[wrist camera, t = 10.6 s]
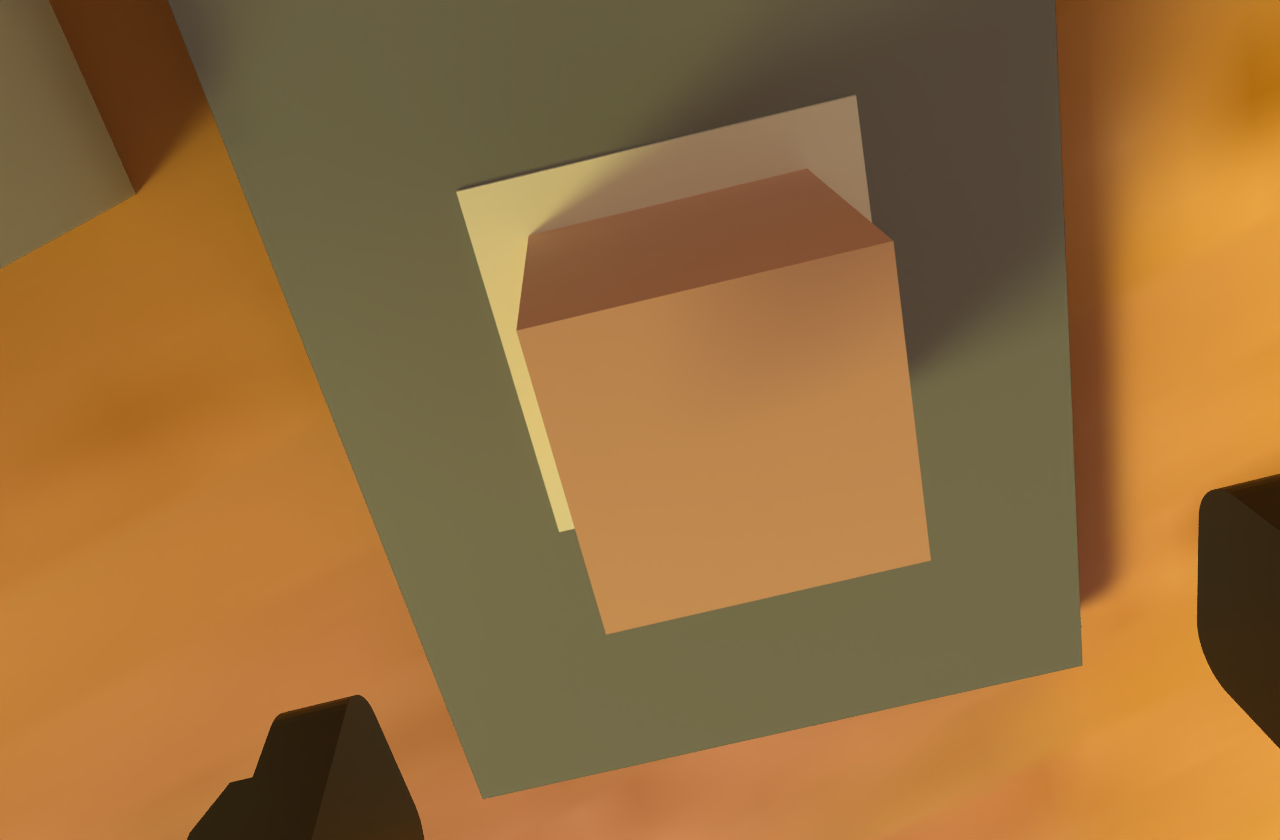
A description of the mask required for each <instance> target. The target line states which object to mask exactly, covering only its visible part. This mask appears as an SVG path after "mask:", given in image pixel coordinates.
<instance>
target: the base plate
mask: <svg viewBox="0 0 1280 840" xmlns="http://www.w3.org/2000/svg"><path fill="white" fill-rule="evenodd" d="M168 2H169V5H170V7H171V10H172V12H173V15H174V18H175V20H176V23H177V25H178V28H179V30H180V33H181V35H182V38H183V40H184V43H185V45H186V48H187V51H188V53H189V56H190V58H191V61H192V63H193V66H194V68H195V71H196V73H197V76H198V78H199V81H200V83H201V86H202V89H203V91H204V94H205V96H206V99H207V101H208V104H209V106H210V109H211V111H212V114H213V116H214V119H215V121H216V124H217V127H218V129H219V132H220V134H221V137H222V139H223V142H224V144H225V147H226V149H227V152H228V154H229V157H230V159H231V162H232V165H233V167H234V170H235V172H236V175H237V177H238V180H239V182H240V185H241V187H242V190H243V192H244V195H245V198H246V200H247V203H248V205H249V208H250V210H251V213H252V215H253V218H254V220H255V223H256V225H257V228H258V230H259V233H260V236H261V238H262V241H263V243H264V246H265V248H266V251H267V253H268V256H269V258H270V261H271V263H272V266H273V268H274V271H275V274H276V276H277V279H278V281H279V284H280V286H281V289H282V291H283V294H284V296H285V299H286V301H287V304H288V307H289V309H290V312H291V314H292V317H293V319H294V322H295V324H296V327H297V329H298V332H299V334H300V337H301V339H302V342H303V345H304V347H305V350H306V352H307V355H308V357H309V360H310V362H311V365H312V367H313V370H314V372H315V375H316V377H317V380H318V383H319V385H320V388H321V390H322V393H323V395H324V398H325V400H326V403H327V405H328V408H329V410H330V413H331V415H332V418H333V421H334V423H335V426H336V428H337V431H338V433H339V436H340V438H341V441H342V443H343V446H344V448H345V451H346V454H347V456H348V459H349V461H350V464H351V466H352V469H353V471H354V474H355V476H356V479H357V481H358V484H359V486H360V489H361V492H362V494H363V497H364V499H365V502H366V504H367V507H368V509H369V512H370V514H371V517H372V519H373V522H374V524H375V527H376V530H377V532H378V535H379V537H380V540H381V542H382V545H383V547H384V550H385V552H386V555H387V557H388V560H389V562H390V565H391V568H392V570H393V573H394V575H395V578H396V580H397V583H398V585H399V588H400V590H401V593H402V595H403V598H404V601H405V603H406V606H407V608H408V611H409V613H410V616H411V618H412V621H413V623H414V626H415V628H416V631H417V633H418V636H419V639H420V641H421V644H422V646H423V649H424V651H425V654H426V656H427V659H428V661H429V664H430V666H431V669H432V671H433V674H434V677H435V679H436V682H437V684H438V687H439V689H440V692H441V694H442V697H443V699H444V702H445V704H446V707H447V709H448V712H449V715H450V717H451V720H452V722H453V725H454V727H455V730H456V732H457V735H458V737H459V740H460V742H461V745H462V748H463V750H464V753H465V755H466V758H467V760H468V763H469V765H470V768H471V770H472V773H473V775H474V778H475V780H476V783H477V786H478V788H479V791H480V793H481V796H482V798H483V799H486V798H490V797H495V796H499V795H504V794H508V793H513V792H517V791H522V790H526V789H531V788H535V787H540V786H544V785H549V784H553V783H558V782H562V781H567V780H571V779H576V778H580V777H585V776H589V775H594V774H598V773H603V772H607V771H612V770H616V769H621V768H625V767H630V766H634V765H639V764H643V763H648V762H652V761H656V760H661V759H665V758H670V757H674V756H679V755H683V754H688V753H692V752H697V751H701V750H706V749H710V748H715V747H719V746H724V745H728V744H733V743H737V742H742V741H746V740H751V739H755V738H760V737H764V736H769V735H773V734H778V733H782V732H787V731H791V730H796V729H800V728H805V727H809V726H814V725H818V724H823V723H827V722H832V721H836V720H840V719H845V718H849V717H854V716H858V715H863V714H867V713H872V712H876V711H881V710H885V709H890V708H894V707H899V706H903V705H908V704H912V703H917V702H921V701H926V700H930V699H935V698H939V697H944V696H948V695H953V694H957V693H962V692H966V691H971V690H975V689H980V688H984V687H989V686H993V685H998V684H1002V683H1007V682H1011V681H1016V680H1020V679H1025V678H1029V677H1033V676H1038V675H1042V674H1047V673H1051V672H1056V671H1060V670H1065V669H1069V668H1074V667H1078V666H1082V642H1081V618H1080V593H1079V569H1078V544H1077V520H1076V496H1075V471H1074V447H1073V422H1072V398H1071V373H1070V349H1069V325H1068V300H1067V276H1066V251H1065V227H1064V202H1063V178H1062V153H1061V129H1060V105H1059V80H1058V56H1057V31H1056V7H1055V0H168ZM803 169H809V170H810V171H811V172H812V173H813V174H814V175H816V176H817V177H818V178H819V179H820V180H822V181H823V182H824V183H825V184H826V185H828V186H829V187H830V188H831V189H832V190H833V191H835V192H836V193H837V194H838V195H839V196H841V197H842V198H843V199H844V200H845V201H847V202H848V203H849V204H850V205H851V206H852V207H854V208H855V209H856V210H857V211H858V212H860V213H861V214H862V215H863V216H864V217H866V218H867V219H868V220H869V221H870V222H871V223H873V224H874V225H875V226H876V227H877V228H879V229H880V230H881V231H882V232H883V233H884V234H886V235H887V236H888V237H889V238H890V239H892V240H893V242H894V251H895V259H896V268H897V276H898V284H899V293H900V301H901V310H902V318H903V327H904V335H905V344H906V352H907V361H908V369H909V378H910V386H911V395H912V403H913V412H914V420H915V429H916V437H917V446H918V454H919V463H920V471H921V480H922V488H923V497H924V505H925V514H926V522H927V531H928V539H929V548H930V556H931V561H927V562H922V563H918V564H913V565H909V566H905V567H900V568H896V569H891V570H887V571H883V572H878V573H874V574H870V575H865V576H861V577H856V578H852V579H848V580H843V581H839V582H834V583H830V584H826V585H821V586H817V587H812V588H808V589H804V590H799V591H795V592H791V593H786V594H782V595H777V596H773V597H769V598H764V599H760V600H755V601H751V602H747V603H742V604H738V605H734V606H729V607H725V608H720V609H716V610H712V611H707V612H703V613H698V614H694V615H690V616H685V617H681V618H676V619H672V620H668V621H663V622H659V623H655V624H650V625H646V626H641V627H637V628H633V629H628V630H624V631H619V632H615V633H611V634H606V633H605V629H604V626H603V622H602V619H601V616H600V612H599V609H598V605H597V602H596V599H595V595H594V592H593V589H592V585H591V582H590V578H589V575H588V572H587V568H586V565H585V562H584V558H583V555H582V551H581V548H580V545H579V541H578V538H577V534H576V531H575V528H574V524H573V521H572V518H571V514H570V511H569V507H568V504H567V501H566V497H565V494H564V490H563V487H562V484H561V480H560V477H559V474H558V470H557V467H556V463H555V460H554V457H553V453H552V450H551V447H550V443H549V440H548V436H547V433H546V430H545V426H544V423H543V419H542V416H541V413H540V409H539V406H538V403H537V399H536V396H535V392H534V389H533V386H532V382H531V379H530V375H529V372H528V369H527V365H526V362H525V359H524V355H523V352H522V348H521V345H520V342H519V338H518V335H517V332H516V329H517V321H518V313H519V306H520V298H521V290H522V283H523V275H524V267H525V259H526V252H527V244H528V236H529V235H533V234H537V233H541V232H545V231H549V230H554V229H558V228H562V227H566V226H570V225H574V224H578V223H583V222H587V221H591V220H595V219H599V218H603V217H608V216H612V215H616V214H620V213H624V212H628V211H632V210H637V209H641V208H645V207H649V206H653V205H657V204H662V203H666V202H670V201H674V200H678V199H682V198H686V197H691V196H695V195H699V194H703V193H707V192H711V191H715V190H720V189H724V188H728V187H732V186H736V185H740V184H745V183H749V182H753V181H757V180H761V179H765V178H769V177H774V176H778V175H782V174H786V173H790V172H794V171H799V170H803Z"/></svg>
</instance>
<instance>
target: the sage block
mask: <svg viewBox="0 0 1280 840" xmlns="http://www.w3.org/2000/svg"><path fill="white" fill-rule="evenodd" d="M134 195H136V193H135V191H134V189H133V187H132V184H131V182H130V180H129V178H128V175H127V173H126V171H125V169H124V166H123V164H122V162H121V160H120V158H119V155H118V153H117V151H116V149H115V146H114V144H113V142H112V140H111V137H110V135H109V133H108V131H107V129H106V126H105V124H104V122H103V120H102V117H101V115H100V113H99V111H98V108H97V106H96V104H95V102H94V100H93V97H92V95H91V93H90V91H89V88H88V86H87V84H86V82H85V79H84V77H83V75H82V73H81V71H80V68H79V66H78V64H77V62H76V59H75V57H74V55H73V53H72V50H71V48H70V46H69V44H68V42H67V39H66V37H65V35H64V33H63V30H62V28H61V26H60V24H59V21H58V19H57V17H56V15H55V13H54V10H53V8H52V6H51V4H50V1H49V0H0V268H2V267H4V266H6V265H8V264H10V263H11V262H13V261H15V260H17V259H19V258H21V257H22V256H24V255H26V254H28V253H30V252H32V251H33V250H35V249H37V248H39V247H41V246H43V245H44V244H46V243H48V242H50V241H52V240H54V239H55V238H57V237H59V236H61V235H63V234H64V233H66V232H68V231H70V230H72V229H74V228H75V227H77V226H79V225H81V224H83V223H85V222H86V221H88V220H90V219H92V218H94V217H96V216H97V215H99V214H101V213H103V212H105V211H107V210H108V209H110V208H112V207H114V206H116V205H118V204H119V203H121V202H123V201H125V200H127V199H129V198H130V197H132V196H134Z"/></svg>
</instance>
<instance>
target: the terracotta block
mask: <svg viewBox="0 0 1280 840" xmlns="http://www.w3.org/2000/svg"><path fill="white" fill-rule="evenodd" d="M516 332H517V335H518V338H519V342H520V345H521V348H522V352H523V355H524V359H525V362H526V365H527V369H528V372H529V375H530V379H531V382H532V386H533V389H534V392H535V396H536V399H537V403H538V406H539V409H540V413H541V416H542V419H543V423H544V426H545V430H546V433H547V436H548V440H549V443H550V447H551V450H552V453H553V457H554V460H555V463H556V467H557V470H558V474H559V477H560V480H561V484H562V487H563V490H564V494H565V497H566V501H567V504H568V507H569V511H570V514H571V518H572V521H573V524H574V528H575V531H576V534H577V538H578V541H579V545H580V548H581V551H582V555H583V558H584V562H585V565H586V568H587V572H588V575H589V578H590V582H591V585H592V589H593V592H594V595H595V599H596V602H597V605H598V609H599V612H600V616H601V619H602V622H603V626H604V629H605V633H606V634H611V633H615V632H619V631H624V630H628V629H633V628H637V627H641V626H646V625H650V624H655V623H659V622H663V621H668V620H672V619H676V618H681V617H685V616H690V615H694V614H698V613H703V612H707V611H712V610H716V609H720V608H725V607H729V606H734V605H738V604H742V603H747V602H751V601H755V600H760V599H764V598H769V597H773V596H777V595H782V594H786V593H791V592H795V591H799V590H804V589H808V588H812V587H817V586H821V585H826V584H830V583H834V582H839V581H843V580H848V579H852V578H856V577H861V576H865V575H870V574H874V573H878V572H883V571H887V570H891V569H896V568H900V567H905V566H909V565H913V564H918V563H922V562H927V561H931V556H930V548H929V539H928V531H927V522H926V514H925V505H924V497H923V488H922V480H921V471H920V463H919V454H918V446H917V437H916V429H915V420H914V412H913V403H912V395H911V386H910V378H909V369H908V361H907V352H906V344H905V335H904V327H903V318H902V310H901V301H900V293H899V284H898V276H897V268H896V259H895V251H894V242H893V240H892V239H890V238H889V237H888V236H887V235H886V234H884V233H883V232H882V231H881V230H880V229H879V228H877V227H876V226H875V225H874V224H873V223H871V222H870V221H869V220H868V219H867V218H866V217H864V216H863V215H862V214H861V213H860V212H858V211H857V210H856V209H855V208H854V207H852V206H851V205H850V204H849V203H848V202H847V201H845V200H844V199H843V198H842V197H841V196H839V195H838V194H837V193H836V192H835V191H833V190H832V189H831V188H830V187H829V186H828V185H826V184H825V183H824V182H823V181H822V180H820V179H819V178H818V177H817V176H816V175H814V174H813V173H812V172H811V171H810V170H809V169H803V170H799V171H794V172H790V173H786V174H782V175H778V176H774V177H769V178H765V179H761V180H757V181H753V182H749V183H745V184H740V185H736V186H732V187H728V188H724V189H720V190H715V191H711V192H707V193H703V194H699V195H695V196H691V197H686V198H682V199H678V200H674V201H670V202H666V203H662V204H657V205H653V206H649V207H645V208H641V209H637V210H632V211H628V212H624V213H620V214H616V215H612V216H608V217H603V218H599V219H595V220H591V221H587V222H583V223H578V224H574V225H570V226H566V227H562V228H558V229H554V230H549V231H545V232H541V233H537V234H533V235H529V236H528V244H527V252H526V259H525V267H524V275H523V283H522V290H521V298H520V306H519V313H518V321H517V329H516Z"/></svg>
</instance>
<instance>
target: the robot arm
mask: <svg viewBox="0 0 1280 840" xmlns="http://www.w3.org/2000/svg"><path fill="white" fill-rule="evenodd" d="M1197 628H1198V635H1199V639H1200V643H1201V647H1202V650H1203V653H1204V655H1205V658H1206V660H1207V662H1208V664H1209V666H1210V668H1211V670H1212V672H1213V674H1214V675H1215V677H1216V679H1217V680H1218V682H1219V683H1220V684H1221V686H1222V687H1223V688H1224V690H1225V691H1226V692H1227V693H1228V694H1229V695H1230V696H1231V697H1232V698H1233V699H1234V701H1235V702H1236V703H1237V704H1238V705H1239V706H1240V707H1241V708H1242V709H1243V710H1244V711H1245V712H1246V713H1247V714H1248V715H1249V716H1250V718H1251V719H1252V720H1253V721H1254V722H1255V723H1256V724H1257V725H1258V726H1259V727H1260V728H1261V729H1262V730H1263V731H1264V732H1265V733H1266V735H1267V736H1268V737H1269V738H1270V739H1271V740H1272V741H1273V742H1274V743H1275V744H1276V745H1277V746H1278V747H1279V748H1280V474H1277V475H1272V476H1268V477H1264V478H1260V479H1256V480H1252V481H1248V482H1244V483H1239V484H1235V485H1231V486H1227V487H1223V488H1219V489H1215V490H1211V491H1209V492H1208V493H1207V494H1206V495H1205V496H1204V497H1203V499H1202V501H1201V505H1200V509H1199V536H1198V595H1197ZM187 840H424V835H423V830H422V825H421V821H420V818H419V815H418V812H417V809H416V806H415V804H414V802H413V800H412V797H411V795H410V793H409V790H408V788H407V786H406V784H405V781H404V779H403V777H402V775H401V772H400V770H399V768H398V766H397V763H396V761H395V759H394V757H393V754H392V752H391V750H390V748H389V745H388V743H387V741H386V739H385V736H384V734H383V732H382V730H381V727H380V725H379V723H378V721H377V718H376V716H375V714H374V712H373V710H372V708H371V706H370V704H369V703H368V701H367V700H366V699H365V698H364V697H362V696H360V695H354V696H350V697H346V698H342V699H338V700H334V701H330V702H326V703H321V704H317V705H313V706H309V707H305V708H301V709H297V710H293V711H288V712H284V713H281V714H279V715H278V716H277V717H276V718H275V720H274V721H273V723H272V725H271V728H270V731H269V733H268V736H267V739H266V742H265V744H264V747H263V750H262V753H261V756H260V758H259V761H258V764H257V767H256V770H255V772H254V775H253V777H252V778H248V779H244V780H239V781H235V782H231V783H229V785H228V786H227V787H226V788H225V790H224V791H223V792H222V793H221V795H220V796H219V797H218V798H217V800H216V801H215V802H214V803H213V805H212V806H211V807H210V808H209V810H208V811H207V812H206V813H205V815H204V816H203V817H202V818H201V820H200V821H199V822H198V823H197V825H196V826H195V827H194V828H193V829H192V831H191V832H190V833H189V836H188V838H187Z"/></svg>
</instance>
